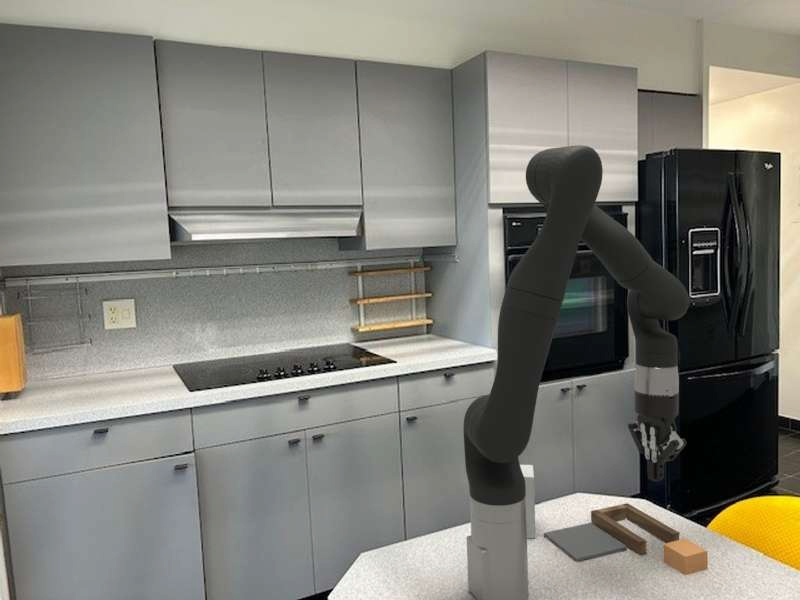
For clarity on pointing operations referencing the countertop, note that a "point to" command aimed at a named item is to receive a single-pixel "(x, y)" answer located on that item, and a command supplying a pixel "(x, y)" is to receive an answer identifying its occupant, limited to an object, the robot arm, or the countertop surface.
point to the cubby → (608, 524)
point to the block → (685, 556)
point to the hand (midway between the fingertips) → (655, 479)
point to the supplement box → (529, 499)
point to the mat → (584, 541)
